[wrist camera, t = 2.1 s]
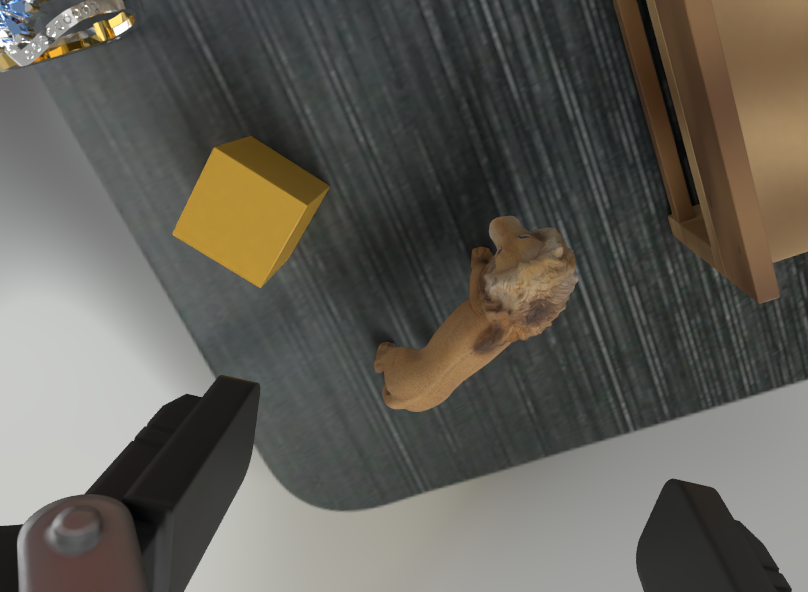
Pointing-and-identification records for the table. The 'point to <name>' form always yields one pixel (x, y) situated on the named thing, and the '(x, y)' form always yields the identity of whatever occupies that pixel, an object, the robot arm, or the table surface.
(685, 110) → the bench
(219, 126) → the table surface
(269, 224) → the block
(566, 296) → the lion figurine
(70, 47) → the ring
